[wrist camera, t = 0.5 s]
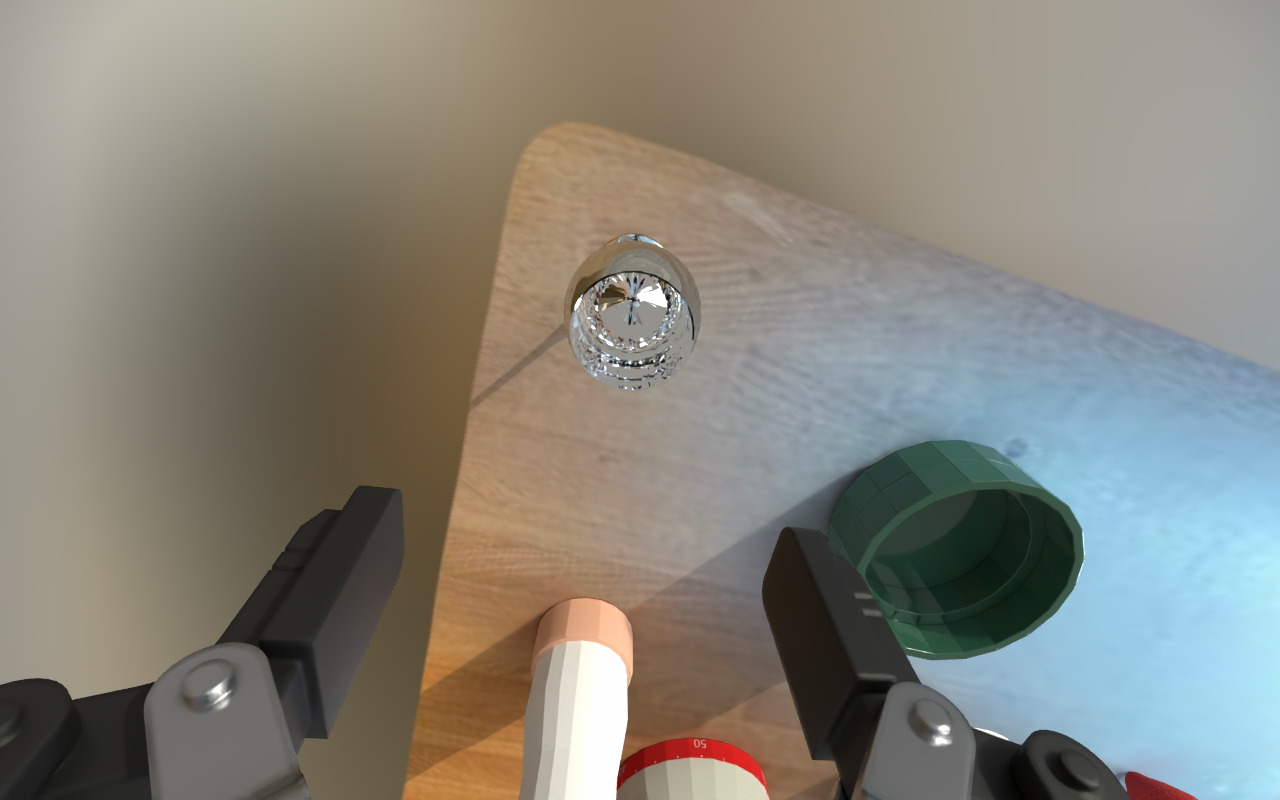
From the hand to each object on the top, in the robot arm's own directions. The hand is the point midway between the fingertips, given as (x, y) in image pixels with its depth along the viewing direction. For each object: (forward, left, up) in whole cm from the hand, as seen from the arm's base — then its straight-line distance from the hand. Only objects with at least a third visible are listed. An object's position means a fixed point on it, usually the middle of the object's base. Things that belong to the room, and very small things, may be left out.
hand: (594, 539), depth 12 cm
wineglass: (-2, -1, -22) cm, 22 cm away
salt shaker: (+18, +18, -22) cm, 34 cm away
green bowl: (-7, +25, -22) cm, 34 cm away
